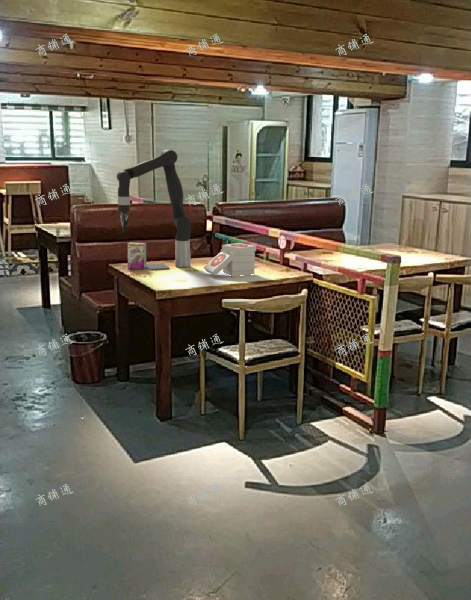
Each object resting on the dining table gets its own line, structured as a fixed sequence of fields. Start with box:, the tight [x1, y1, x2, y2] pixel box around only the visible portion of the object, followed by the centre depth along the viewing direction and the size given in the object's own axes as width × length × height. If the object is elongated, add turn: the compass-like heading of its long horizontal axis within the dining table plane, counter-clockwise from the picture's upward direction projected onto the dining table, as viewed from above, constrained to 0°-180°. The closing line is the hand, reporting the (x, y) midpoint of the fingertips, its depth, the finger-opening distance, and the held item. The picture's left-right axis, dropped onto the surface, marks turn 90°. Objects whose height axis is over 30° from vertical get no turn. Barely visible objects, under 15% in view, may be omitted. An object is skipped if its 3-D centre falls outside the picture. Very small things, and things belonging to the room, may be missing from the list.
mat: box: [146, 263, 171, 271], centre depth 404 cm, size 13×16×1 cm
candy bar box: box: [126, 241, 147, 270], centre depth 398 cm, size 11×5×16 cm, turn 82°
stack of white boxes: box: [203, 242, 257, 277], centre depth 385 cm, size 19×30×18 cm, turn 114°
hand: (124, 231), depth 391 cm, fingers closed
